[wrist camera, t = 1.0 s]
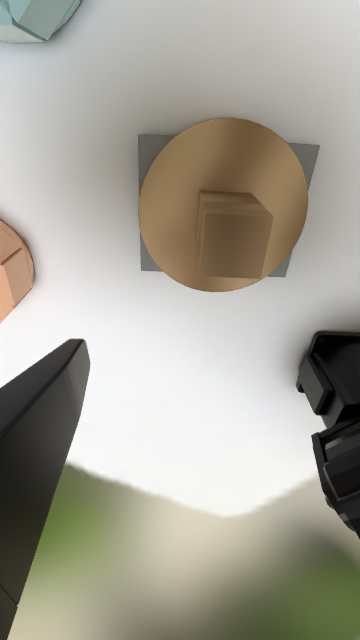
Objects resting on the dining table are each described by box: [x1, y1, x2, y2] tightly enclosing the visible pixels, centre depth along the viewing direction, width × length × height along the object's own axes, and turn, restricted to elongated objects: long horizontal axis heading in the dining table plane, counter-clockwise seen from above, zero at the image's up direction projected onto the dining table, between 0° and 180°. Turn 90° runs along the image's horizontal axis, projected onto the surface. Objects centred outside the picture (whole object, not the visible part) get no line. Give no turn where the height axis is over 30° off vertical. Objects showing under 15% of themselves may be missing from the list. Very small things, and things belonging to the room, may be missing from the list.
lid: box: [138, 118, 308, 292], centre depth 17 cm, size 10×10×6 cm
